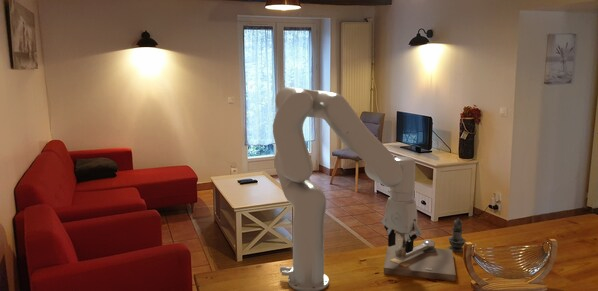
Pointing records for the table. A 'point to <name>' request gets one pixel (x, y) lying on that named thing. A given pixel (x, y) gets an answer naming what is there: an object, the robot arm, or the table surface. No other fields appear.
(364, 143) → the robot arm
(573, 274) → the table surface
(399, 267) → the lever board
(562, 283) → the table surface
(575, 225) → the table surface
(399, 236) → the lever
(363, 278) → the table surface
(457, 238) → the dark grey tower figurine
